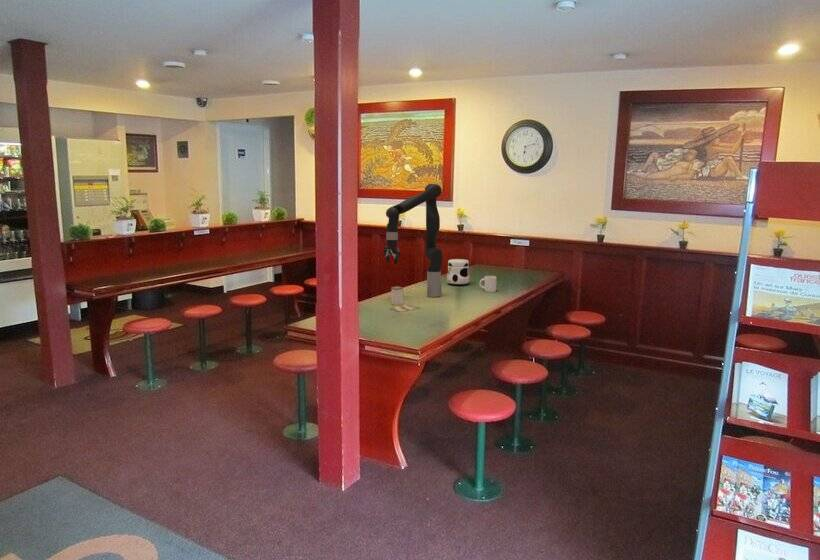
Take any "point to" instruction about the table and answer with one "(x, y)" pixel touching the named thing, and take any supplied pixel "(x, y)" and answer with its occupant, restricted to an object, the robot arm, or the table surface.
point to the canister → (397, 295)
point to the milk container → (458, 272)
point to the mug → (489, 283)
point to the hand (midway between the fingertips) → (391, 263)
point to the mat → (403, 308)
